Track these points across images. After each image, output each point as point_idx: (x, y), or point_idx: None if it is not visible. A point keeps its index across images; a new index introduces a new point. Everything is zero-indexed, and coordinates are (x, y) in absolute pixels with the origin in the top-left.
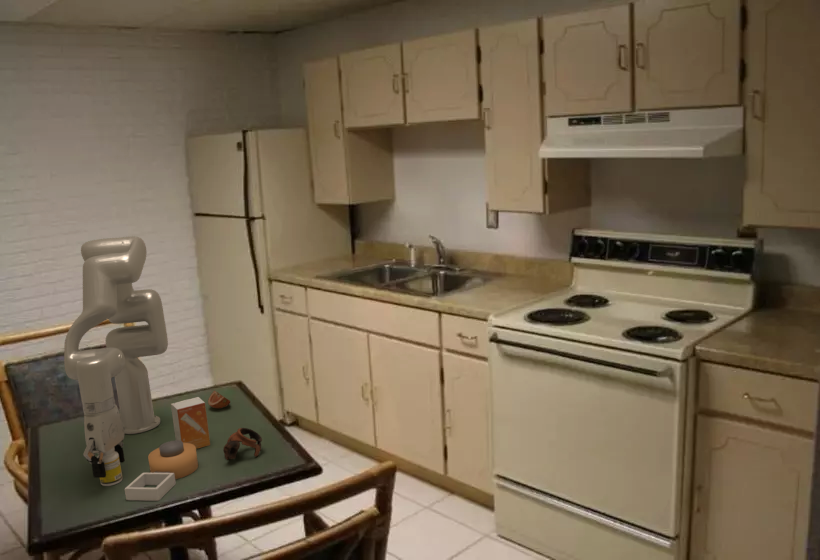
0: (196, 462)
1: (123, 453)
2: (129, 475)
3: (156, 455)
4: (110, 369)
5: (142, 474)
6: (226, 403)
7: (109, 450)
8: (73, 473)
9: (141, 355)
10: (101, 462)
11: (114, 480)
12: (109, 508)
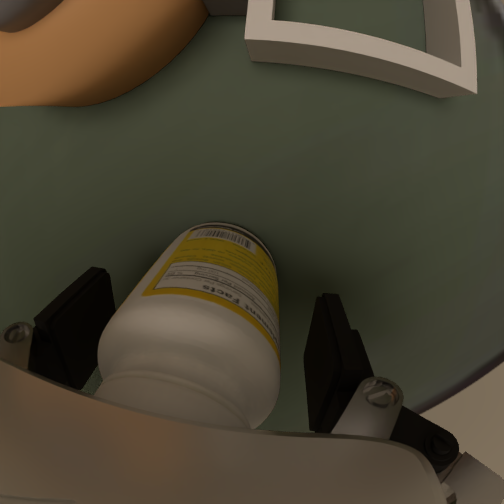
0: None
1: (62, 292)
2: (146, 210)
3: (63, 21)
4: None
5: (280, 28)
6: None
7: (207, 420)
8: None
9: None
10: (365, 381)
11: (260, 247)
12: (493, 159)
